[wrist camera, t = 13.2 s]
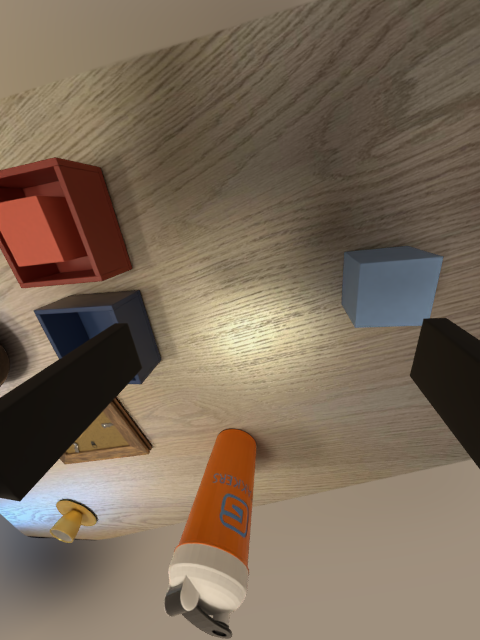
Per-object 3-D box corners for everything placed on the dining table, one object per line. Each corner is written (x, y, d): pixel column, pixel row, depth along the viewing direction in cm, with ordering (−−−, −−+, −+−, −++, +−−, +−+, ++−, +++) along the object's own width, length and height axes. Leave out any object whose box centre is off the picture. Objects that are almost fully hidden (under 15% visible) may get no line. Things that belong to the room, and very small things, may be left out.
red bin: (20, 184, 28) (-37, 178, 23) (100, 167, 25) (55, 157, 20) (62, 276, 32) (21, 288, 27) (132, 269, 30) (102, 281, 25)
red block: (44, 205, 28) (-14, 204, 22) (85, 197, 27) (35, 195, 21) (65, 256, 30) (18, 267, 25) (105, 251, 29) (64, 261, 24)
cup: (80, 498, 61) (62, 523, 56) (105, 524, 65) (91, 549, 60) (49, 499, 65) (30, 522, 60) (75, 523, 69) (59, 547, 64)
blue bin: (70, 295, 34) (32, 310, 29) (139, 289, 31) (111, 305, 26) (99, 360, 38) (71, 383, 33) (161, 359, 36) (141, 384, 31)
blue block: (344, 251, 25) (360, 263, 19) (408, 245, 23) (444, 256, 18) (341, 304, 27) (354, 327, 22) (399, 301, 26) (428, 325, 21)
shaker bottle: (247, 466, 43) (220, 648, 25) (204, 445, 43) (145, 614, 25) (271, 440, 39) (259, 634, 21) (223, 416, 39) (170, 594, 21)
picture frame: (97, 371, 39) (12, 396, 47) (89, 378, 38) (3, 403, 45) (153, 446, 46) (70, 457, 53) (148, 455, 44) (64, 465, 51)
